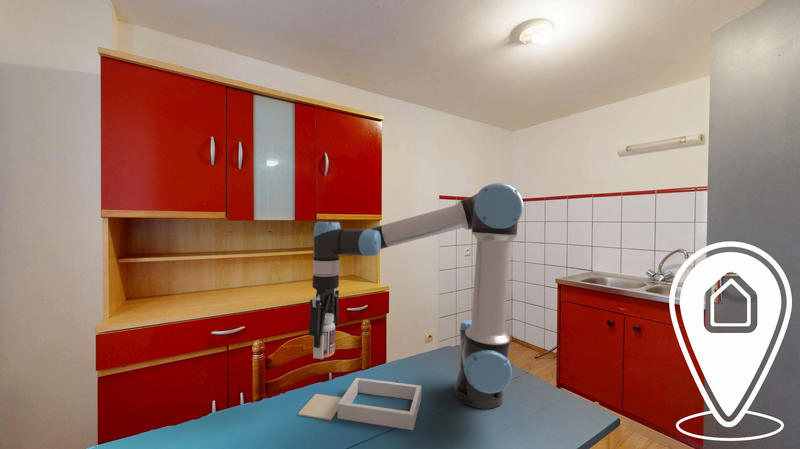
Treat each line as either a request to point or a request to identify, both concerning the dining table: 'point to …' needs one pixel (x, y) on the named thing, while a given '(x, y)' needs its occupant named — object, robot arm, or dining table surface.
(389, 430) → the dining table surface
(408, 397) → the bin
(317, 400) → the mat
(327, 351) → the pill bottle
